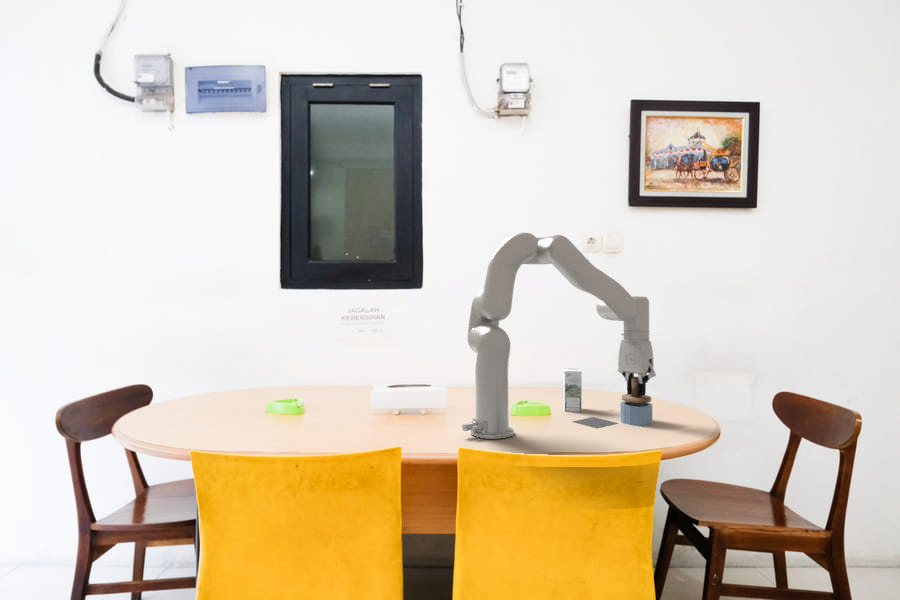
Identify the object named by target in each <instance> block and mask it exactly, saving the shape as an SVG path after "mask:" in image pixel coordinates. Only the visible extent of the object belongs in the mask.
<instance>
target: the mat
mask: <svg viewBox="0 0 900 600" xmlns="http://www.w3.org/2000/svg"><path fill="white" fill-rule="evenodd" d="M571 422H572V423H574V424H580V425H582V426H586V427H591V428H593V429H600V428H605V427H609V426H614V425H618V424H619V422H616V421H612V420H607V419H602V418H598V417H595V416H590V417H587V418H582V419H578V420H573V421H571Z"/></svg>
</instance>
